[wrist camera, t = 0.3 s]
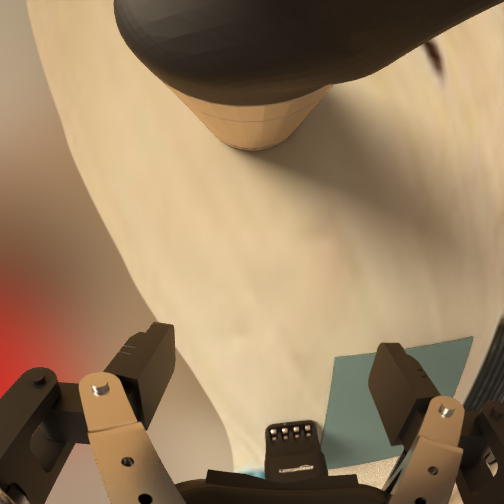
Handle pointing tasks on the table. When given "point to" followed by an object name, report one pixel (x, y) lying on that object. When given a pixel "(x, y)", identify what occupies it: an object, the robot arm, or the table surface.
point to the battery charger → (293, 452)
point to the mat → (364, 409)
